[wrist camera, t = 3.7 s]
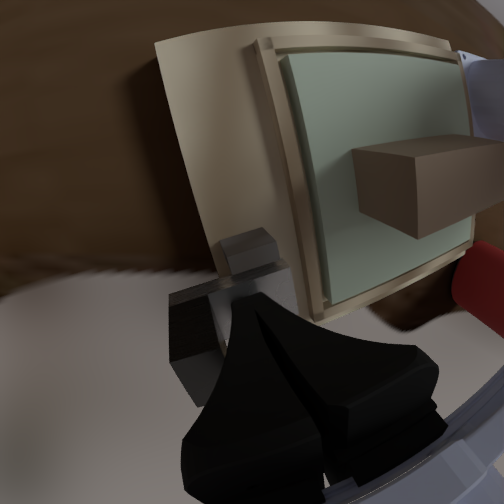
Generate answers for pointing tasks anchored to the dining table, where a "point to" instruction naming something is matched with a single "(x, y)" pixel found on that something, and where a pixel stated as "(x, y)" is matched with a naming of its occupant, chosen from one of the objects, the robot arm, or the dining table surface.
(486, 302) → the beer can
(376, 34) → the picture frame
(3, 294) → the dining table surface
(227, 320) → the latch bolt
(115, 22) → the dining table surface
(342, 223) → the cover
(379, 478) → the robot arm
